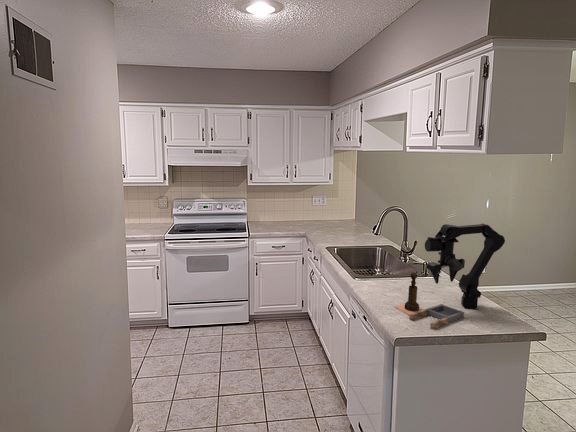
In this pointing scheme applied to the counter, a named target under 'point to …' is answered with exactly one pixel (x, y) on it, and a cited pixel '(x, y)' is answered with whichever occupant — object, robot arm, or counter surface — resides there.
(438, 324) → the walnut channel
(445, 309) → the charcoal box
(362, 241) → the counter surface
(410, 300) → the wooden pepper mill
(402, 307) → the terracotta tile
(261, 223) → the counter surface
